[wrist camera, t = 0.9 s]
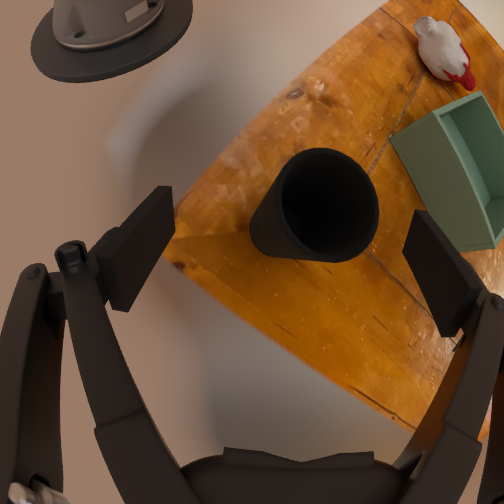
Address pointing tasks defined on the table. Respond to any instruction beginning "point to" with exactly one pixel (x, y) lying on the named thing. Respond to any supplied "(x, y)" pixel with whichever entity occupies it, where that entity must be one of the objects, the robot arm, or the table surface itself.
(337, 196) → the cup
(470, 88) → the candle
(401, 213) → the table surface
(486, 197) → the open storage box
